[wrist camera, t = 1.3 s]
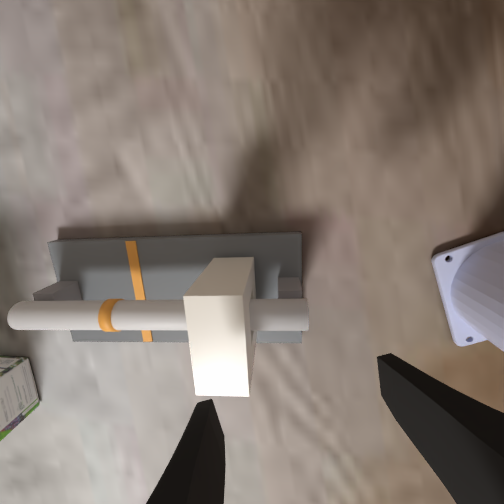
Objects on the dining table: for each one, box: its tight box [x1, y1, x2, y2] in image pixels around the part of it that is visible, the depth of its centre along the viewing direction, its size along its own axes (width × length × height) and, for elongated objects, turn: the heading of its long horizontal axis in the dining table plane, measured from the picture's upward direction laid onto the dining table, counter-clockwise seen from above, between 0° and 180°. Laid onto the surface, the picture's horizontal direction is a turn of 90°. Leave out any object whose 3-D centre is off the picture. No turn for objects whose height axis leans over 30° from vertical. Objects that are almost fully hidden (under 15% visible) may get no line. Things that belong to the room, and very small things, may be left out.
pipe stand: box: [7, 232, 309, 343], centre depth 19 cm, size 20×9×6 cm, turn 93°
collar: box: [183, 257, 257, 397], centre depth 17 cm, size 3×6×7 cm, turn 3°
